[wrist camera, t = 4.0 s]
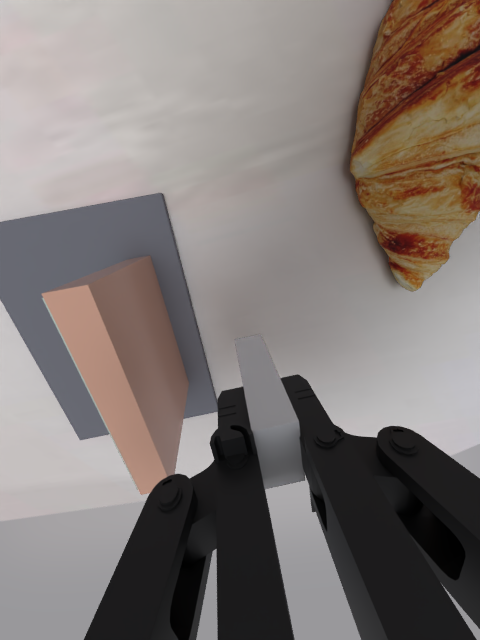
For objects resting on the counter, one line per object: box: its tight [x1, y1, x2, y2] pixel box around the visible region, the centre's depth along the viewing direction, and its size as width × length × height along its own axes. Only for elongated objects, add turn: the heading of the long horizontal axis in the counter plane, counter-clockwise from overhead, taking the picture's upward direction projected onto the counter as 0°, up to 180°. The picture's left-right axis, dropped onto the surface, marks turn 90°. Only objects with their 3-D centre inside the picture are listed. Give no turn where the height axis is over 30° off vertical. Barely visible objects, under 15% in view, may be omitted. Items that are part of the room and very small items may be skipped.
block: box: [42, 255, 189, 495], centre depth 16 cm, size 2×12×10 cm, turn 10°
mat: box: [0, 193, 218, 440], centre depth 21 cm, size 14×20×1 cm
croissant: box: [350, 0, 480, 292], centre depth 16 cm, size 21×10×8 cm, turn 13°
